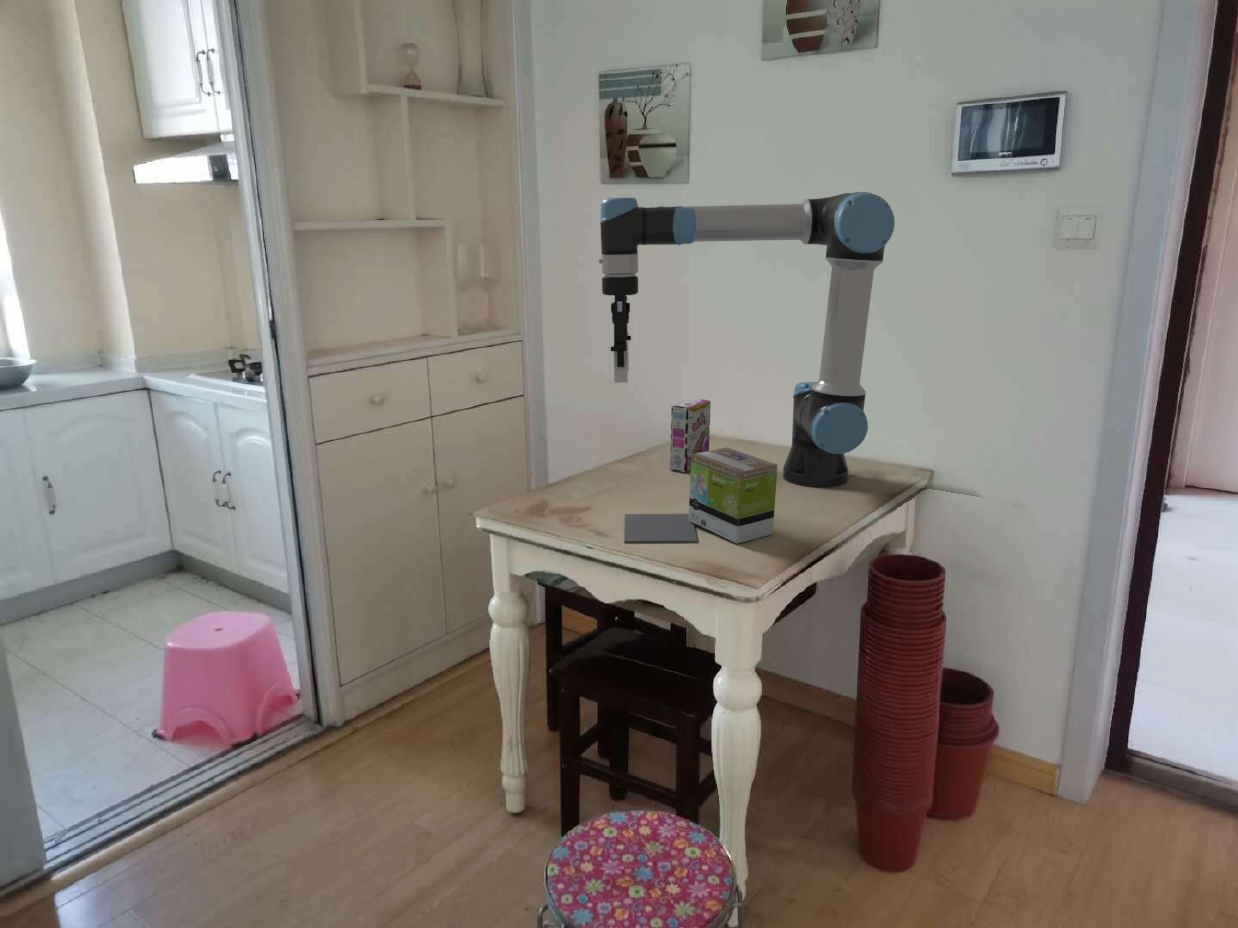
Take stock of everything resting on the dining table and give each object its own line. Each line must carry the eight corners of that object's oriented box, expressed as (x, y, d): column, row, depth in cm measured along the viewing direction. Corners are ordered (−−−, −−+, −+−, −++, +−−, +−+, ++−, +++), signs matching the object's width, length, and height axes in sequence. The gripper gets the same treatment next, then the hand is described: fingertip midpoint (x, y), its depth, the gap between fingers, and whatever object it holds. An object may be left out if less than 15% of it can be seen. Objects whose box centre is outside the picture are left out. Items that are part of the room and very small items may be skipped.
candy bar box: (687, 474, 220) (687, 407, 216) (669, 471, 223) (669, 405, 219) (710, 463, 229) (711, 399, 225) (693, 460, 232) (694, 397, 228)
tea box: (686, 522, 185) (689, 452, 181) (723, 514, 190) (727, 445, 186) (736, 545, 173) (740, 470, 169) (774, 535, 179) (779, 462, 175)
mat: (691, 515, 191) (691, 513, 190) (697, 542, 175) (697, 540, 175) (624, 515, 191) (624, 514, 191) (624, 542, 175) (624, 540, 175)
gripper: (604, 271, 201) (606, 366, 207) (599, 280, 177) (601, 387, 183) (638, 270, 201) (639, 366, 206) (637, 279, 177) (639, 387, 182)
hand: (621, 376), depth 195 cm, fingers open, 13 cm apart
